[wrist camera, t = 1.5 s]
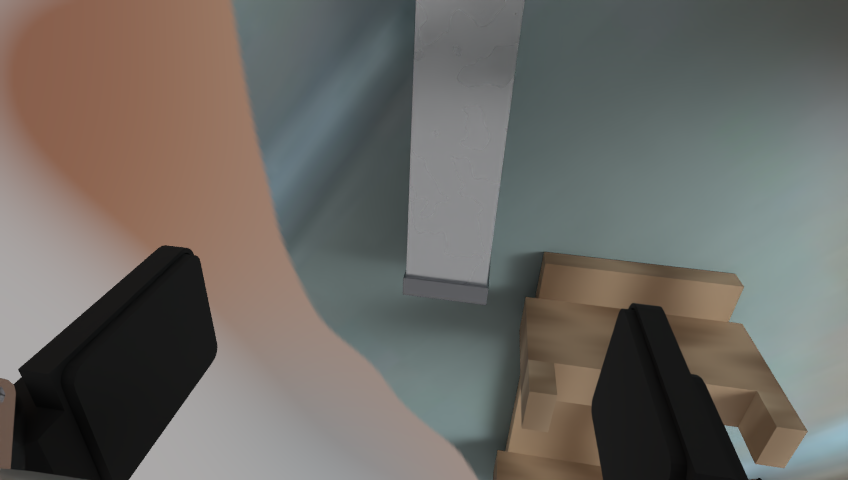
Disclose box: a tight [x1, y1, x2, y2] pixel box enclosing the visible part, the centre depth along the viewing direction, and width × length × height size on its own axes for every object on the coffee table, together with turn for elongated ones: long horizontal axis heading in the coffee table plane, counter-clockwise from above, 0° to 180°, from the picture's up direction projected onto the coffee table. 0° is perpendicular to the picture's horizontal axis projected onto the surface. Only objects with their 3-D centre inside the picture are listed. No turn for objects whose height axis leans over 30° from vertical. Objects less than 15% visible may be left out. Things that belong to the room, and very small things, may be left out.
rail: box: [403, 0, 525, 305], centre depth 23 cm, size 4×16×4 cm, turn 177°
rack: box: [493, 252, 808, 480], centre depth 29 cm, size 11×20×8 cm, turn 177°
